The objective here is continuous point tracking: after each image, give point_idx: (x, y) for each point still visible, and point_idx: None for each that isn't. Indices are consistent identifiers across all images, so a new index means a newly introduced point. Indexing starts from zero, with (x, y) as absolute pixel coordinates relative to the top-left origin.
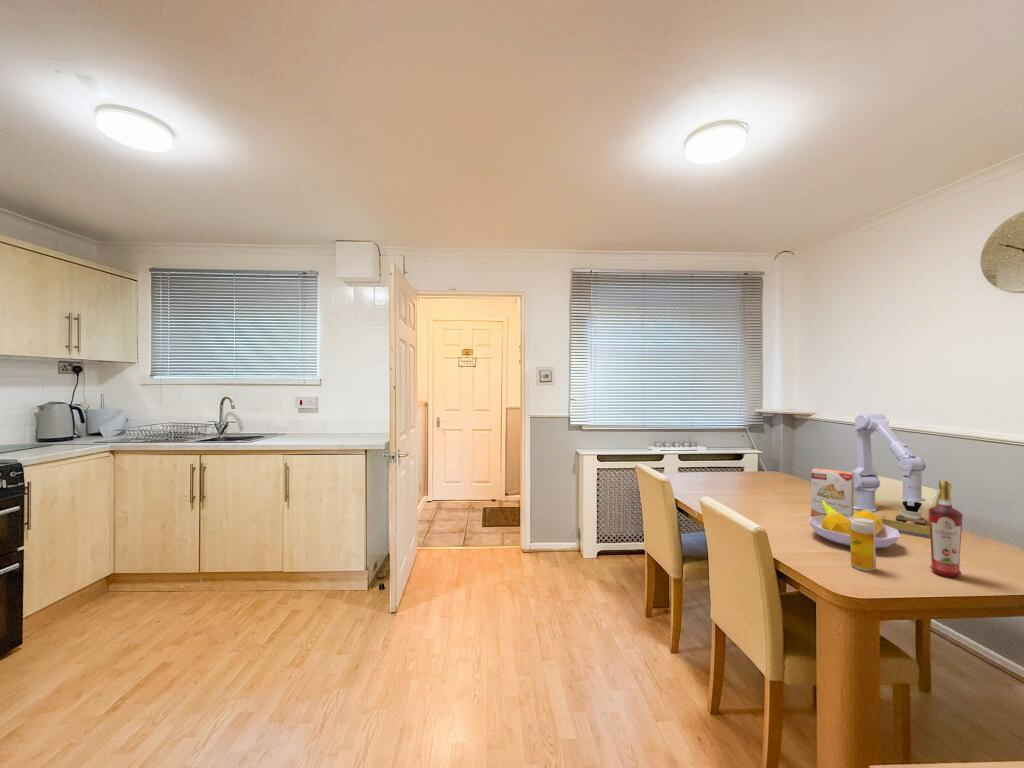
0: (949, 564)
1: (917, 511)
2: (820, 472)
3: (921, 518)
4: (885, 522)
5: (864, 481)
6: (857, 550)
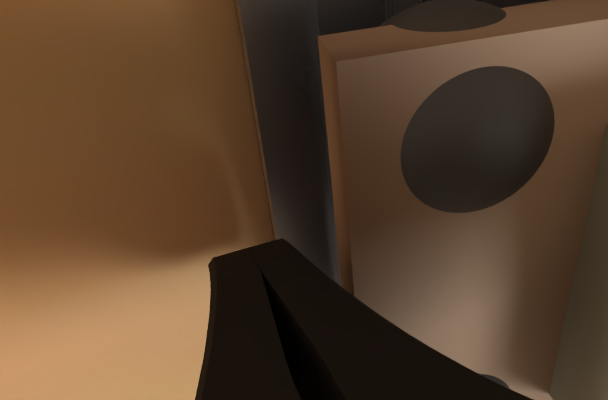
0: None
1: (484, 378)
2: None
3: (548, 134)
4: None
5: None
6: None
